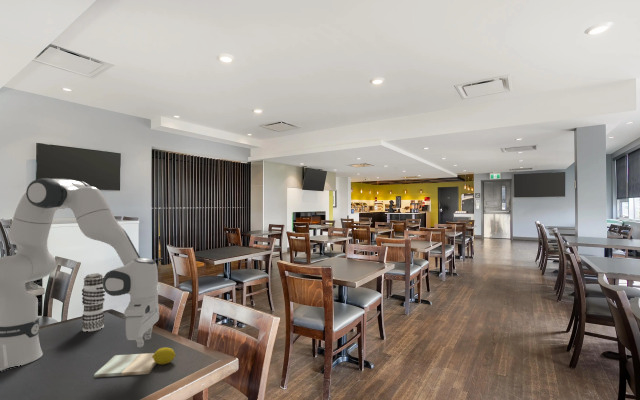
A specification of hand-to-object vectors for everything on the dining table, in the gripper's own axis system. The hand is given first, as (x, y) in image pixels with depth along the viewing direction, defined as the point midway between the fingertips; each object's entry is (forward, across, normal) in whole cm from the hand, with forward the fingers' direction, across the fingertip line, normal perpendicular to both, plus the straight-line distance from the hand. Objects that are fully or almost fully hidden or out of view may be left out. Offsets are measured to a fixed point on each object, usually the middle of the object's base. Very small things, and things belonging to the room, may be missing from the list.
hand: (144, 342), depth 117 cm
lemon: (+5, 0, +2) cm, 6 cm away
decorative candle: (+8, -41, -38) cm, 56 cm away
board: (+8, 0, -4) cm, 9 cm away
